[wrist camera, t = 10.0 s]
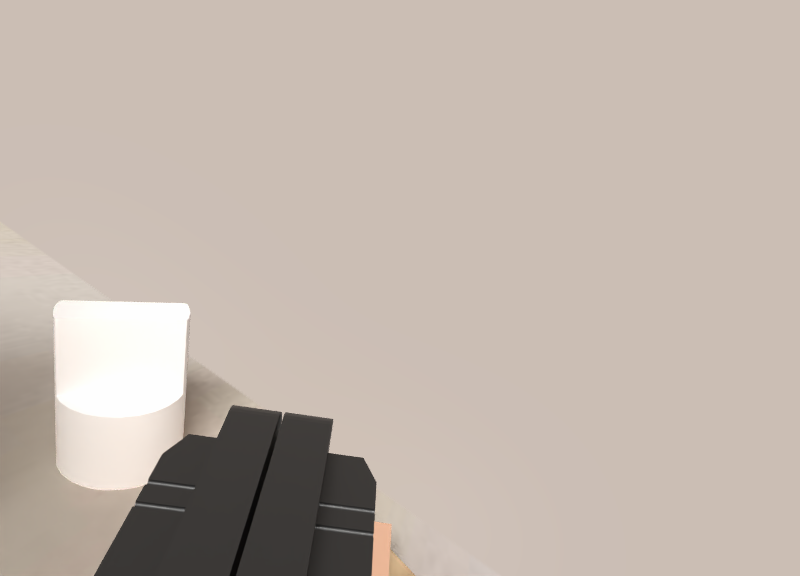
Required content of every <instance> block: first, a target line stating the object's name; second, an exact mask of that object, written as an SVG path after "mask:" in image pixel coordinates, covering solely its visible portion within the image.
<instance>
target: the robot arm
mask: <svg viewBox="0 0 800 576" xmlns="http://www.w3.org/2000/svg"><path fill="white" fill-rule="evenodd" d="M332 425H333V419H329V418H322V417H314V416H307V415H300V414H292V413H285V414H284V417H283V421H282V412H277V411H270V410H263V409H256V408H249V407H242V406H235V405H233V406H232V407H231V408H230V410H229V412H228V415H227V417H226V419H225V421H224V424H223V426H222V428H221V430H220V432H219V435H218V437H217V438H213V437H206V436H199V435H191V434H189V435H187V436H186V437H185V438H183V439H182V440H180V441H179V442H178V443H176V444H175V445H174V446H172V447H171V448H169V449H168V450H167V451H165V452H164V453H163V454H162V455H161V457H160V459H159V461H158V462H157V464H156V466H155V468H154V470H153V471H152V473H151V475H150V477H149V478H148V483H147V484H145V486H144V487H143V489H142V491H141V493H140V494H139V496H138V498H137V500H136V504H135V507H132V509H131V511H130V512H129V514H128V516H127V518H126V519H125V521H124V523H123V525H122V527H121V528H120V530H119V532H118V534H117V535H116V537H115V539H114V541H113V543H112V544H111V546H110V548H109V550H108V552H107V553H106V555H105V557H104V559H103V560H102V562H101V564H100V566H99V568H98V569H97V571H96V573H95V575H94V576H372V560H373V540H374V538H373V534H374V520H375V514H374V513H375V500H376V481H375V479H374V477H373V475H372V473H371V471H370V470H369V468H368V466H367V464H366V462H365V460H364V458H360V457H353V456H345V455H338V454H331V453H328V452H329V445H330V438H331V432H332Z"/></svg>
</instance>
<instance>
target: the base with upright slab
mask: <svg viewBox="0 0 800 576" xmlns="http://www.w3.org/2000/svg"><path fill="white" fill-rule="evenodd" d="M190 313H191V312H190V309H189V307H188V305H187V304H186V303H149V302H107V301H65V300H61V301H59V302H58V303H57V304H56V306H55V307H54V308H53V332H54V382H55V432H56V466H57V468H58V469H59V471H60V473H61V474H62V475H63V476H64V477H65V478H67V479H68V480H69V481H70V482H73V483H75V484H78V485H80V486H83V487H87V488H92V489H98V490H123V489H130V488H136V487H139V486H143V485H145V484H147V483H148V478H149V477H150V475H151V473H152V471H153V470H154V468H155V466H156V464H157V462H158V461H159V459H160V457H161V455H162V454H163V453H164V452H165V451H167V450H168V449H169V448H171V447H172V446H174V445H175V444H176V443H178V442H179V441H180V440H182V439H183V435H184V417H185V400H186V382H187V365H188V346H189V330H190V329H189V328H190Z"/></svg>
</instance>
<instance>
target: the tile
mask: <svg viewBox="0 0 800 576" xmlns="http://www.w3.org/2000/svg"><path fill="white" fill-rule="evenodd" d="M373 538H374V540H373V560H372V576H389V561H390V542H391V524H387V523H380V522H374V534H373Z"/></svg>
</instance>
